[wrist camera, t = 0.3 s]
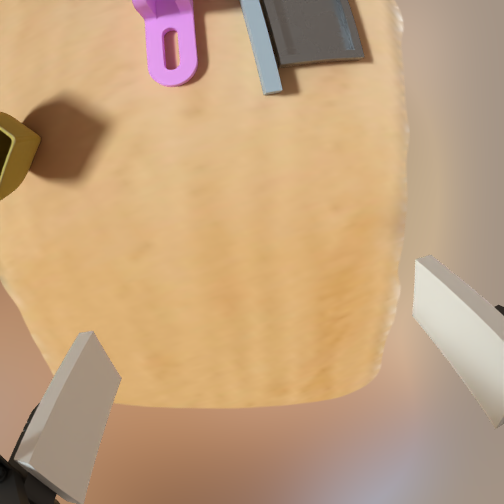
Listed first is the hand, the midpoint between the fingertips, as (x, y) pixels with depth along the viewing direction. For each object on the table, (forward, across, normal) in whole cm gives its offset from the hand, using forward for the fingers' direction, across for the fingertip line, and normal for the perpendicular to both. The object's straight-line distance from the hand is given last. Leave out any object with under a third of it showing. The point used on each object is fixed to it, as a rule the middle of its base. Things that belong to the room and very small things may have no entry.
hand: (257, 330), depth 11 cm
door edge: (+26, +6, +21) cm, 35 cm away
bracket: (+27, -4, +20) cm, 34 cm away
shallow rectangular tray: (+26, +12, +21) cm, 36 cm away
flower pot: (+27, -27, +14) cm, 41 cm away
